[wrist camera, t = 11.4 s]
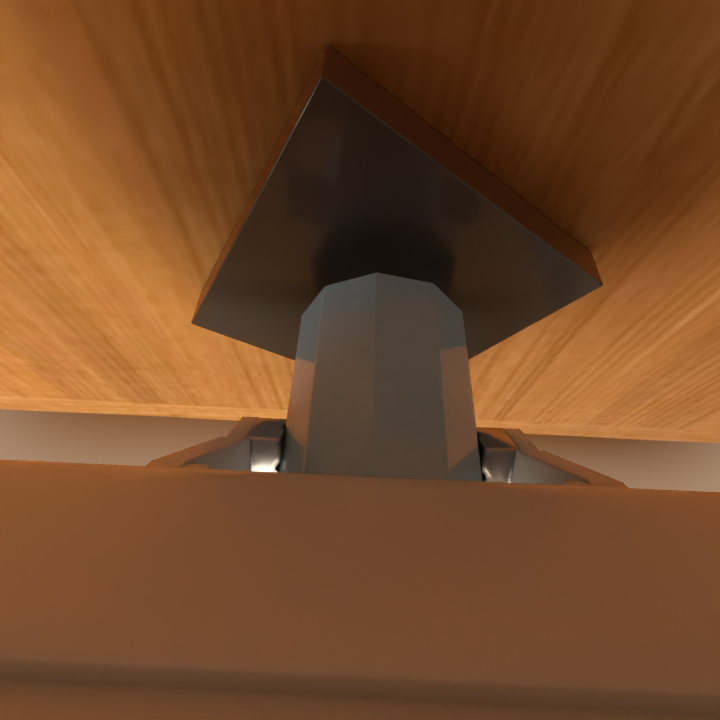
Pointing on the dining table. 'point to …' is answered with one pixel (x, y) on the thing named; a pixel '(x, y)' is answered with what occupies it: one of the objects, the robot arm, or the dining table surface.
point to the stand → (383, 223)
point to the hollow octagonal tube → (382, 384)
